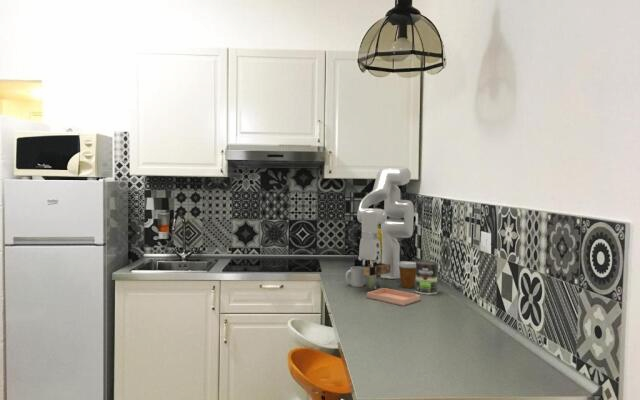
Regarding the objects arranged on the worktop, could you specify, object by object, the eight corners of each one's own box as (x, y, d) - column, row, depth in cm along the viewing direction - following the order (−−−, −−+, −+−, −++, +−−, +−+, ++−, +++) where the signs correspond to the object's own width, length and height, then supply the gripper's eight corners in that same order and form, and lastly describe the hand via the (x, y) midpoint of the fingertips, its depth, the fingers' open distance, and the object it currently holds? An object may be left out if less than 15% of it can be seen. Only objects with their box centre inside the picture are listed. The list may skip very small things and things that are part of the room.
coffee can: (436, 295, 215) (436, 265, 214) (413, 293, 218) (414, 263, 218) (438, 290, 224) (439, 261, 224) (416, 288, 228) (417, 260, 227)
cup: (366, 286, 232) (366, 268, 232) (347, 287, 230) (347, 269, 230) (362, 283, 239) (362, 266, 239) (343, 284, 237) (343, 266, 237)
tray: (384, 293, 218) (384, 287, 218) (420, 300, 205) (420, 294, 205) (366, 298, 209) (366, 292, 208) (403, 306, 195) (403, 300, 195)
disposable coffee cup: (420, 286, 234) (421, 262, 233) (410, 289, 226) (411, 264, 226) (404, 283, 240) (404, 260, 239) (394, 286, 233) (394, 262, 232)
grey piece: (377, 287, 230) (377, 270, 230) (384, 288, 227) (384, 271, 227) (372, 288, 227) (372, 271, 227) (379, 290, 224) (379, 272, 224)
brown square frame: (377, 270, 233) (377, 262, 233) (390, 272, 228) (390, 264, 227) (359, 274, 223) (359, 266, 223) (372, 277, 217) (373, 268, 217)
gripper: (388, 236, 218) (388, 275, 219) (361, 233, 229) (360, 270, 230) (378, 238, 213) (378, 278, 214) (351, 235, 224) (351, 273, 225)
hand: (369, 274), depth 222 cm, fingers closed on brown square frame, 3 cm apart
